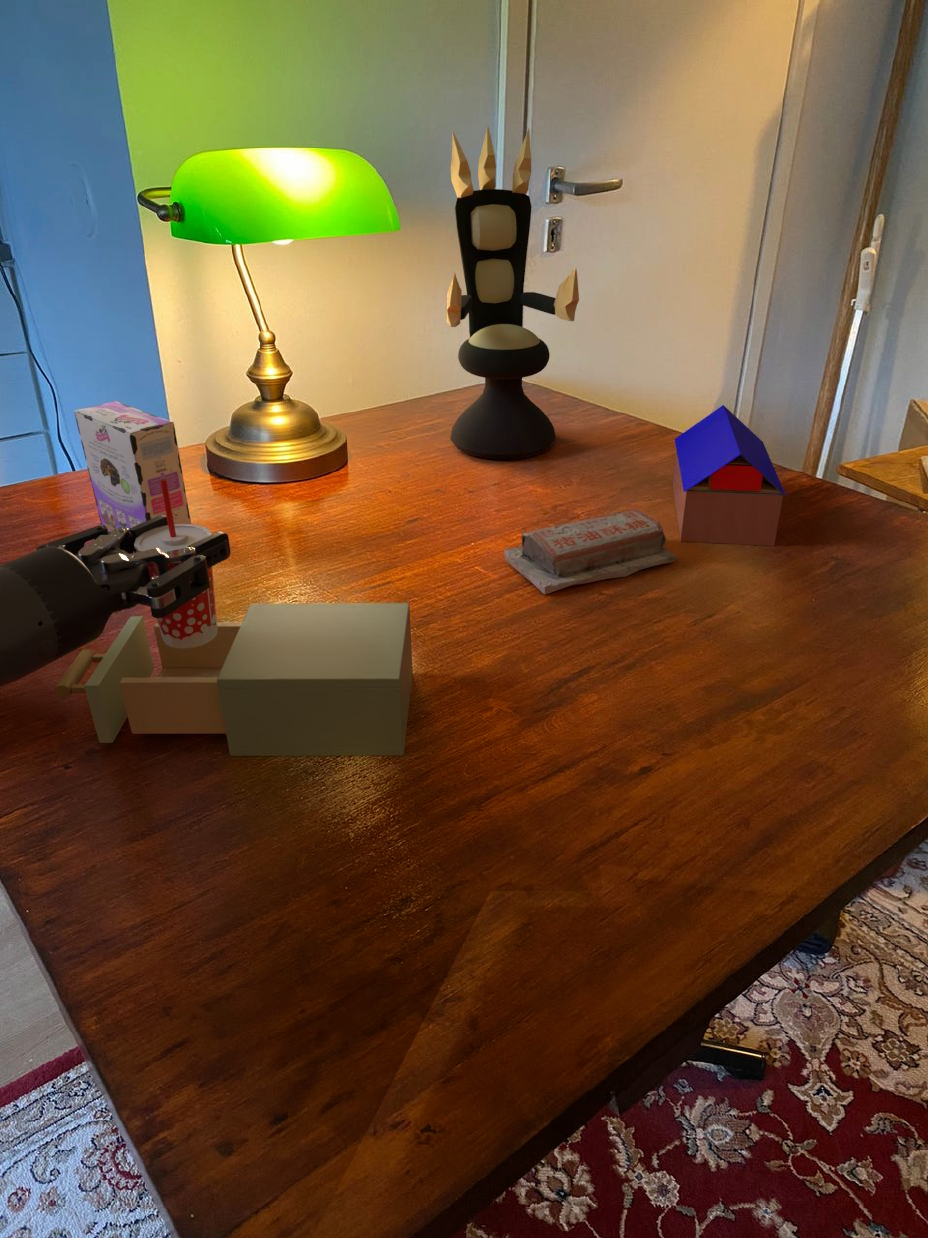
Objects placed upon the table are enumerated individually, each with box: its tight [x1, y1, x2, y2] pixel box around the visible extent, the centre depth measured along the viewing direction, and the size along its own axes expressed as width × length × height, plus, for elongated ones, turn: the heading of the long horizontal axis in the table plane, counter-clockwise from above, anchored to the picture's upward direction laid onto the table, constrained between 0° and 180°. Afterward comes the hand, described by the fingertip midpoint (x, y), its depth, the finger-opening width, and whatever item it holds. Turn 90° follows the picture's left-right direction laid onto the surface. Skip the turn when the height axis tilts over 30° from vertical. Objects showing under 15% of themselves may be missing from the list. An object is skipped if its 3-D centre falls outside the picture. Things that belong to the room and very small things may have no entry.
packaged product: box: [503, 508, 677, 595], centre depth 107 cm, size 18×5×10 cm
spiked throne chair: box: [446, 124, 580, 460], centre depth 136 cm, size 19×22×45 cm
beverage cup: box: [134, 479, 218, 648], centre depth 74 cm, size 6×6×14 cm
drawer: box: [53, 615, 243, 744], centre depth 81 cm, size 18×12×6 cm, turn 89°
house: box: [671, 404, 787, 547], centre depth 118 cm, size 12×20×12 cm, turn 172°
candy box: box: [73, 400, 192, 532], centre depth 111 cm, size 14×6×16 cm, turn 46°
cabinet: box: [217, 602, 414, 757], centre depth 81 cm, size 15×13×8 cm
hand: (196, 534), depth 75 cm, fingers closed on beverage cup, 6 cm apart
